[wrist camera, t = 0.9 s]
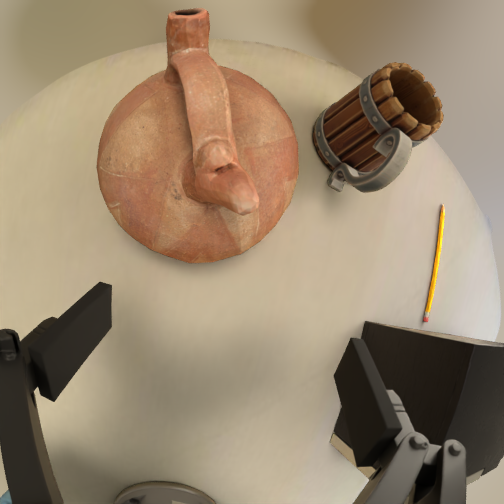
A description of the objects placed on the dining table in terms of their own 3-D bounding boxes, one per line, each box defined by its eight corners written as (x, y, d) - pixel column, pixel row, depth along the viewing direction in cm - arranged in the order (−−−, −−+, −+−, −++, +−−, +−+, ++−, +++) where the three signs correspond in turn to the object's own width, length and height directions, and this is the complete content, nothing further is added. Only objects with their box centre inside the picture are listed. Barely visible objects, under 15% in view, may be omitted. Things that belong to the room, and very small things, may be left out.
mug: (324, 97, 38) (383, 36, 24) (383, 137, 40) (453, 95, 26) (283, 186, 36) (349, 138, 21) (354, 228, 38) (439, 207, 23)
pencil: (422, 320, 40) (425, 321, 39) (440, 202, 43) (443, 201, 42) (425, 321, 40) (428, 322, 40) (443, 204, 43) (446, 203, 42)
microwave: (421, 434, 40) (495, 472, 22) (328, 445, 35) (404, 515, 18) (452, 334, 42) (539, 348, 24) (365, 320, 37) (474, 343, 20)
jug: (288, 244, 35) (407, 215, 16) (130, 281, 31) (66, 293, 12) (252, 103, 36) (314, -12, 16) (107, 126, 31) (64, 5, 12)
